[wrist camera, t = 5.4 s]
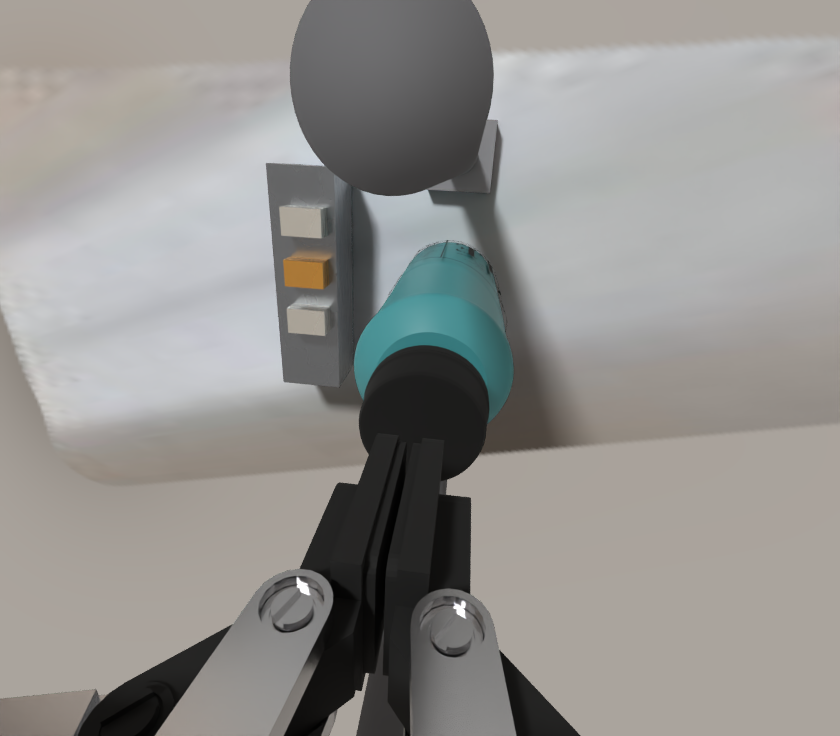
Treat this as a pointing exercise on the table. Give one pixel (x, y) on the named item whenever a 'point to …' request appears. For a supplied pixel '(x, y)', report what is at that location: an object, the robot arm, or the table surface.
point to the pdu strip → (312, 271)
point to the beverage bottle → (436, 357)
